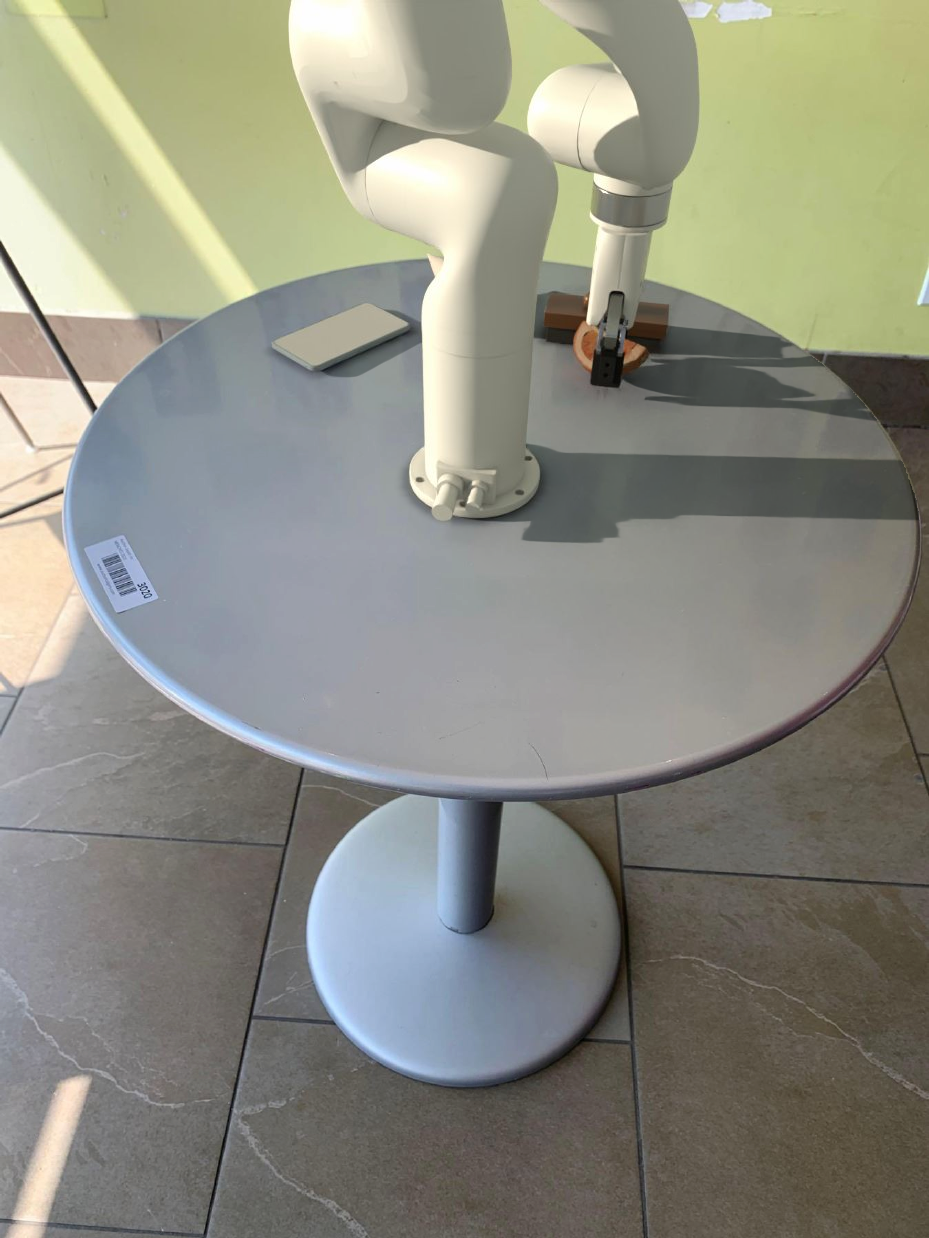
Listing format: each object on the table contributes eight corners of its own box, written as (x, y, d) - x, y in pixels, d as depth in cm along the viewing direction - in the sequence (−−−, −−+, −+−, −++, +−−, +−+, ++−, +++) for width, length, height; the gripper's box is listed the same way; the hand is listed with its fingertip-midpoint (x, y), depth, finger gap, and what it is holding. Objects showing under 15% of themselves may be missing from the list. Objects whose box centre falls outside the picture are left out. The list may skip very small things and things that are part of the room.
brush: (662, 355, 105) (670, 310, 101) (542, 342, 106) (545, 298, 102) (663, 334, 108) (671, 290, 104) (547, 322, 110) (551, 278, 106)
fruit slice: (655, 376, 100) (662, 335, 97) (620, 401, 97) (626, 359, 93) (594, 350, 104) (599, 309, 101) (558, 373, 101) (562, 331, 97)
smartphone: (413, 324, 107) (314, 368, 100) (413, 331, 108) (314, 376, 100) (366, 300, 111) (267, 341, 104) (367, 307, 112) (269, 349, 104)
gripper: (599, 165, 94) (582, 324, 106) (582, 236, 82) (565, 405, 94) (672, 171, 93) (646, 330, 105) (666, 243, 81) (637, 413, 93)
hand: (608, 365), depth 100 cm, fingers closed on fruit slice, 7 cm apart
